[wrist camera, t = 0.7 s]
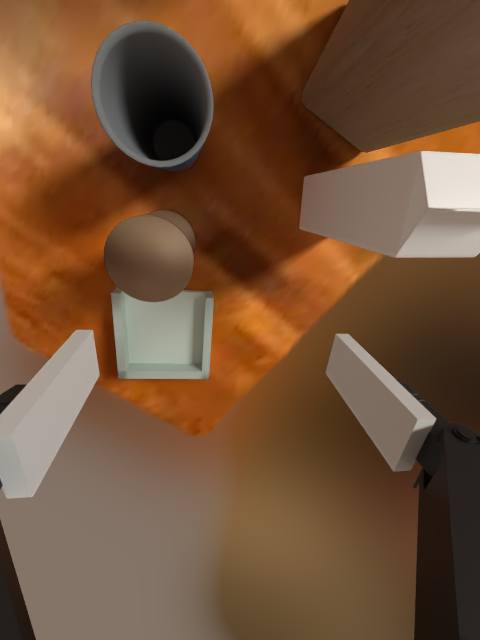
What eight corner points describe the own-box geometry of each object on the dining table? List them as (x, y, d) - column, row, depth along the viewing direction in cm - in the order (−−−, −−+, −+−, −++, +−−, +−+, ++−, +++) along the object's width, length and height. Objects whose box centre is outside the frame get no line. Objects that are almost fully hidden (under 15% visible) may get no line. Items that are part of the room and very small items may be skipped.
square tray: (117, 286, 34) (110, 293, 32) (212, 291, 36) (213, 298, 34) (123, 367, 39) (118, 378, 37) (208, 367, 41) (208, 378, 39)
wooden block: (350, -7, 26) (682, -455, 8) (419, 65, 29) (771, -149, 11) (294, 103, 29) (448, -52, 11) (362, 157, 32) (569, 105, 14)
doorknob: (134, 206, 31) (99, 211, 20) (196, 213, 32) (195, 220, 21) (137, 267, 34) (108, 300, 23) (194, 271, 35) (192, 304, 24)
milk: (303, 176, 32) (471, 134, 12) (351, 177, 33) (583, 141, 13) (298, 230, 35) (431, 269, 15) (343, 230, 36) (528, 268, 15)
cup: (134, 163, 30) (78, 133, 16) (153, 92, 27) (108, -13, 14) (194, 192, 31) (190, 187, 18) (216, 128, 29) (231, 66, 16)
